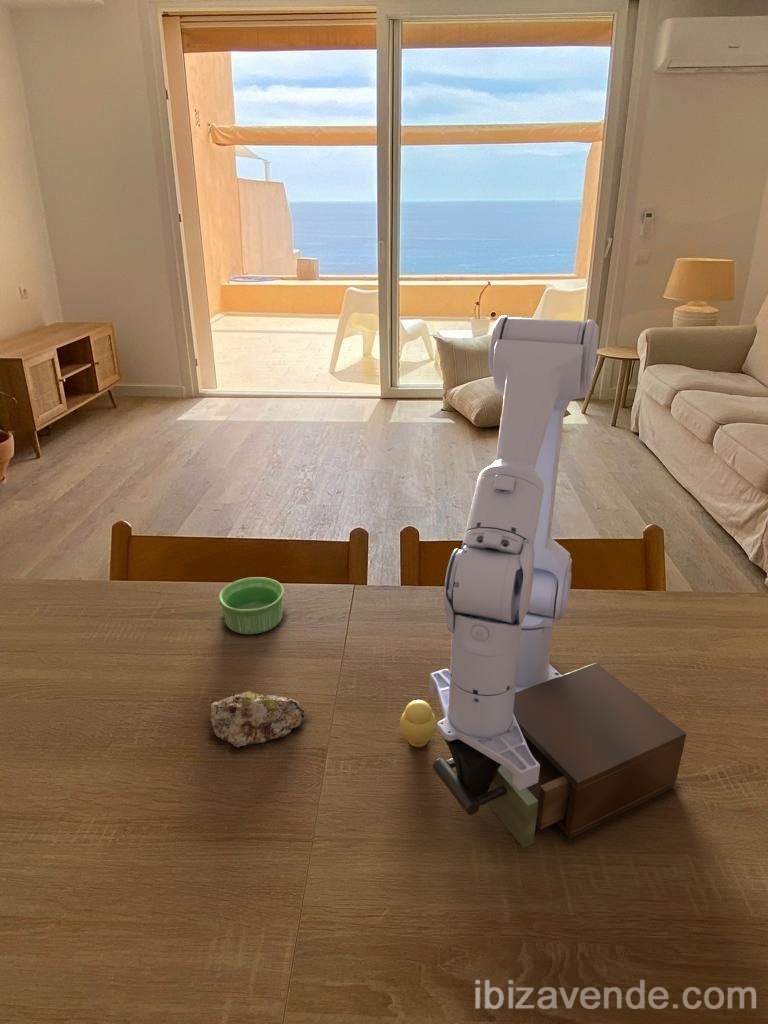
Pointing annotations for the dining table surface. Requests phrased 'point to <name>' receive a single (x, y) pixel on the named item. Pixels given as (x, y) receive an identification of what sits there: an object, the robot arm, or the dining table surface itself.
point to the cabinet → (600, 743)
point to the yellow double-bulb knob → (418, 723)
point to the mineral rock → (254, 718)
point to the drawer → (515, 796)
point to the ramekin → (252, 604)
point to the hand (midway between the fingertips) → (474, 792)
